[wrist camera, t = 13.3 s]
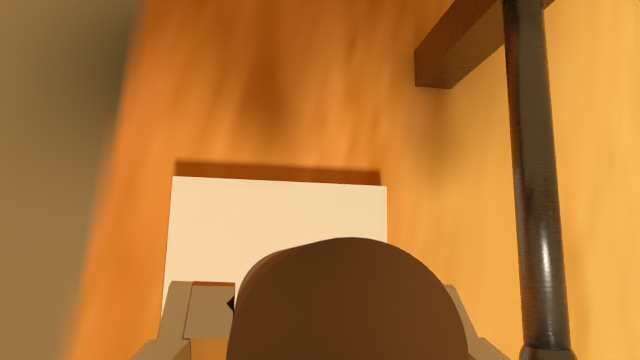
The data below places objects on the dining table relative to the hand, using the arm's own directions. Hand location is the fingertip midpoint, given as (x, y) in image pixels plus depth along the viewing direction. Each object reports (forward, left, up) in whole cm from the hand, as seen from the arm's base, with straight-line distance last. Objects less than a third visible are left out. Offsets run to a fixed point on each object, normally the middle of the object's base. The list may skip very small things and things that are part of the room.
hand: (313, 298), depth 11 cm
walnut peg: (0, +1, -5) cm, 5 cm away
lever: (-10, -5, -14) cm, 18 cm away
